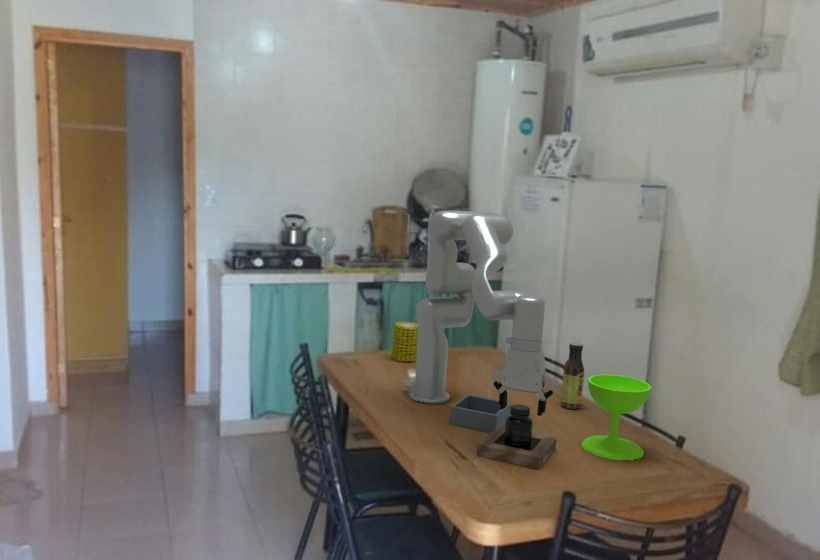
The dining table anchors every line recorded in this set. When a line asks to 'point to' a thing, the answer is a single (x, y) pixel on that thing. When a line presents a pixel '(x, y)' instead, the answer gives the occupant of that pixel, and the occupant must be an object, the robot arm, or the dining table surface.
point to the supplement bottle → (519, 428)
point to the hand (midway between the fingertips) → (521, 411)
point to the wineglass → (616, 414)
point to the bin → (479, 413)
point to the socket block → (516, 449)
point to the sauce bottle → (573, 378)
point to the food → (405, 341)
